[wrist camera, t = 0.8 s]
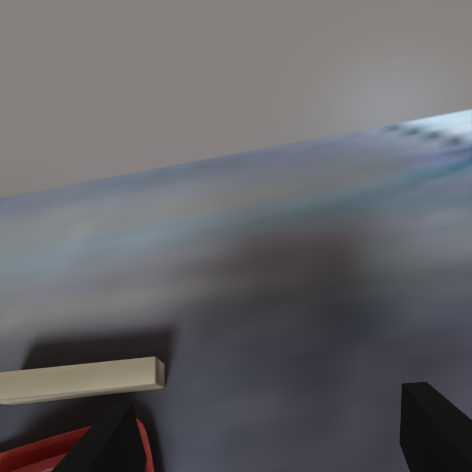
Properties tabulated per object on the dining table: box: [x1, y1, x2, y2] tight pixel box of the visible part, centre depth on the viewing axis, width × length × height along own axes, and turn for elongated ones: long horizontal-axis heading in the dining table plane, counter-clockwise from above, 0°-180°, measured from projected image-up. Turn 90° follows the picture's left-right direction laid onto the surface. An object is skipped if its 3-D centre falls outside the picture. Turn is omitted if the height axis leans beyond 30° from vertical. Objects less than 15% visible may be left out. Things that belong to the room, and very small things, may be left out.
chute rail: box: [0, 357, 165, 405], centre depth 22 cm, size 2×10×3 cm, turn 96°
